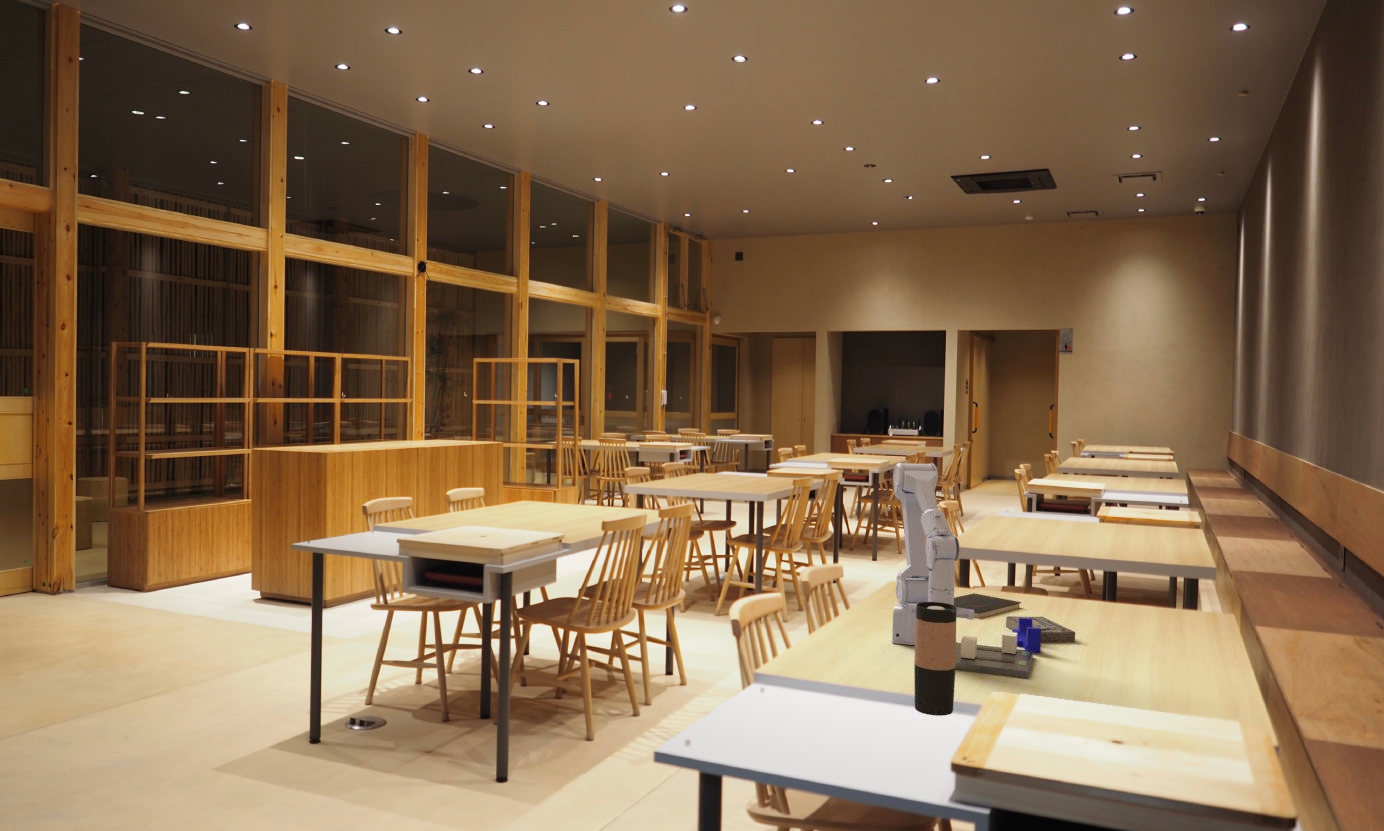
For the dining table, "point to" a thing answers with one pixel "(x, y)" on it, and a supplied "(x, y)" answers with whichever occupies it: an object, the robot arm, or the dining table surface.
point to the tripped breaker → (968, 647)
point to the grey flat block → (1045, 629)
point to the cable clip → (1028, 635)
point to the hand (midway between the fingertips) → (939, 647)
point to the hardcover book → (984, 604)
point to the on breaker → (1009, 642)
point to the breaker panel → (996, 661)
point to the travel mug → (935, 658)
